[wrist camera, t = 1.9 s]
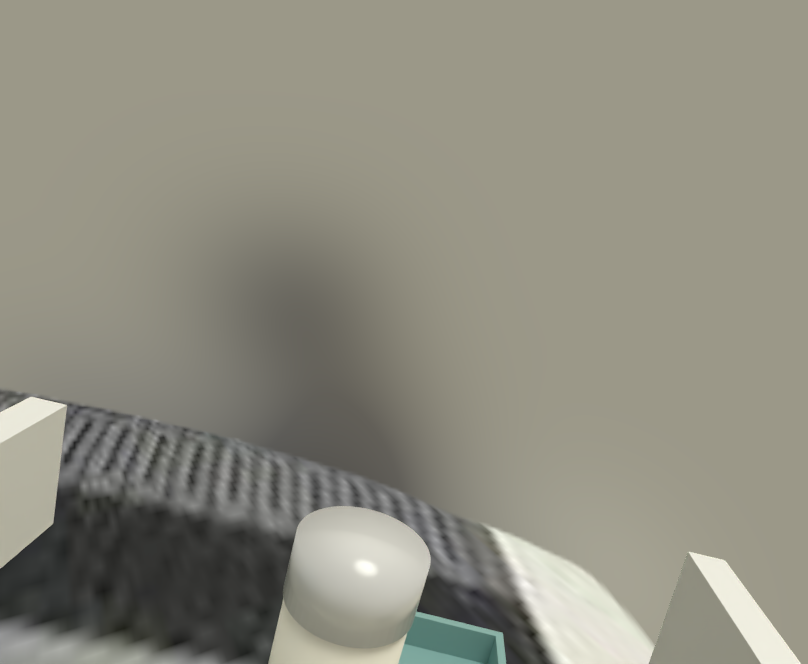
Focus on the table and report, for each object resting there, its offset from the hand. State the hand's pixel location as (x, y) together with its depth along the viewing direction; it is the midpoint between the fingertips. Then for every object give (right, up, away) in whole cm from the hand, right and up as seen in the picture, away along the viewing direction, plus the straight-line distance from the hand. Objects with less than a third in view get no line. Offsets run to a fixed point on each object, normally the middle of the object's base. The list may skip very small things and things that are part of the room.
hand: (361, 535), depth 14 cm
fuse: (-4, -18, +14) cm, 23 cm away
